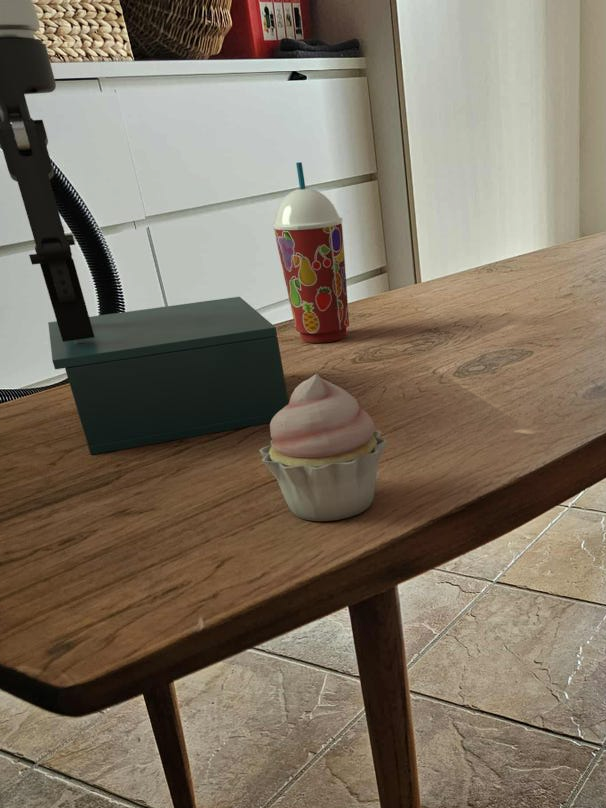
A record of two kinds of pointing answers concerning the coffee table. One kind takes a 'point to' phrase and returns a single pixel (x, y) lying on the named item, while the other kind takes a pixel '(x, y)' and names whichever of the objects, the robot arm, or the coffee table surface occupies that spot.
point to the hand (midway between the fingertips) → (76, 329)
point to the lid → (161, 331)
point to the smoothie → (313, 263)
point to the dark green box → (178, 394)
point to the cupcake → (324, 452)
